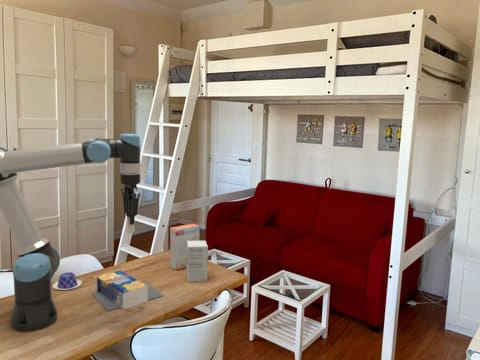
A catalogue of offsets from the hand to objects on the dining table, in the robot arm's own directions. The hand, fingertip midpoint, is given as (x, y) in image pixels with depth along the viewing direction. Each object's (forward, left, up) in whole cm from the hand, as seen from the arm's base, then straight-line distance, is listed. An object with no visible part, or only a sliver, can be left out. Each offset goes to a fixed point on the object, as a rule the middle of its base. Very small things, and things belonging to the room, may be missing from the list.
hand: (130, 231), depth 164 cm
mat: (0, +3, -28) cm, 29 cm away
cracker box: (+37, +20, -29) cm, 51 cm away
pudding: (-17, +28, -29) cm, 44 cm away
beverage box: (-1, -7, -25) cm, 26 cm away
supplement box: (+34, +4, -29) cm, 45 cm away
